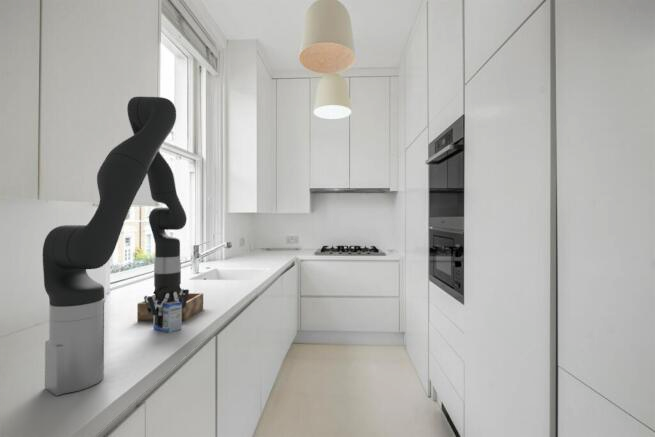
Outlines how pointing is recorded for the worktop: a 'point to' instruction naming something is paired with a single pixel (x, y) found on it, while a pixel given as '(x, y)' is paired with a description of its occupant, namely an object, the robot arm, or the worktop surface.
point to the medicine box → (170, 317)
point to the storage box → (191, 308)
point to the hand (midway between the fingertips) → (167, 324)
